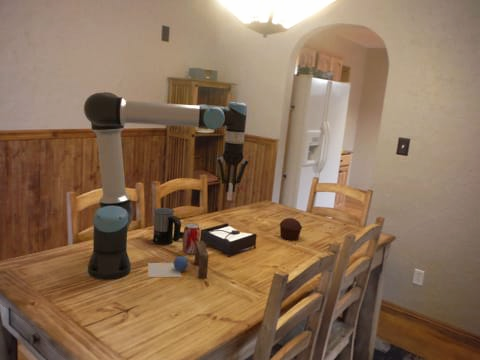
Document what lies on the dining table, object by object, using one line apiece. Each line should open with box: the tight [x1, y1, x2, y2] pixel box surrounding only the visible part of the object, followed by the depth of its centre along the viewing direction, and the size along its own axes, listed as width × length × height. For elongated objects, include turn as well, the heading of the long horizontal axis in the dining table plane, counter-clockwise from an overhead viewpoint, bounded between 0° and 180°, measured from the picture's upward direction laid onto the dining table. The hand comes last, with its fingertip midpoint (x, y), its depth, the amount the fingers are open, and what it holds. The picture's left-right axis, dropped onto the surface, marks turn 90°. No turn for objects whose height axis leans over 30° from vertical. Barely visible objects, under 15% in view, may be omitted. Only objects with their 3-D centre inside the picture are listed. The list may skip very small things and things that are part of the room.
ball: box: [173, 256, 189, 272], centre depth 154 cm, size 6×6×6 cm
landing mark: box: [147, 262, 182, 279], centre depth 153 cm, size 12×12×1 cm
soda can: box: [182, 223, 201, 255], centre depth 171 cm, size 7×7×12 cm
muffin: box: [279, 217, 303, 242], centre depth 201 cm, size 12×11×10 cm
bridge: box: [194, 240, 210, 279], centre depth 155 cm, size 3×14×9 cm, turn 13°
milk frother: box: [152, 207, 184, 246], centre depth 182 cm, size 14×16×15 cm
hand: (229, 199), depth 162 cm, fingers closed
